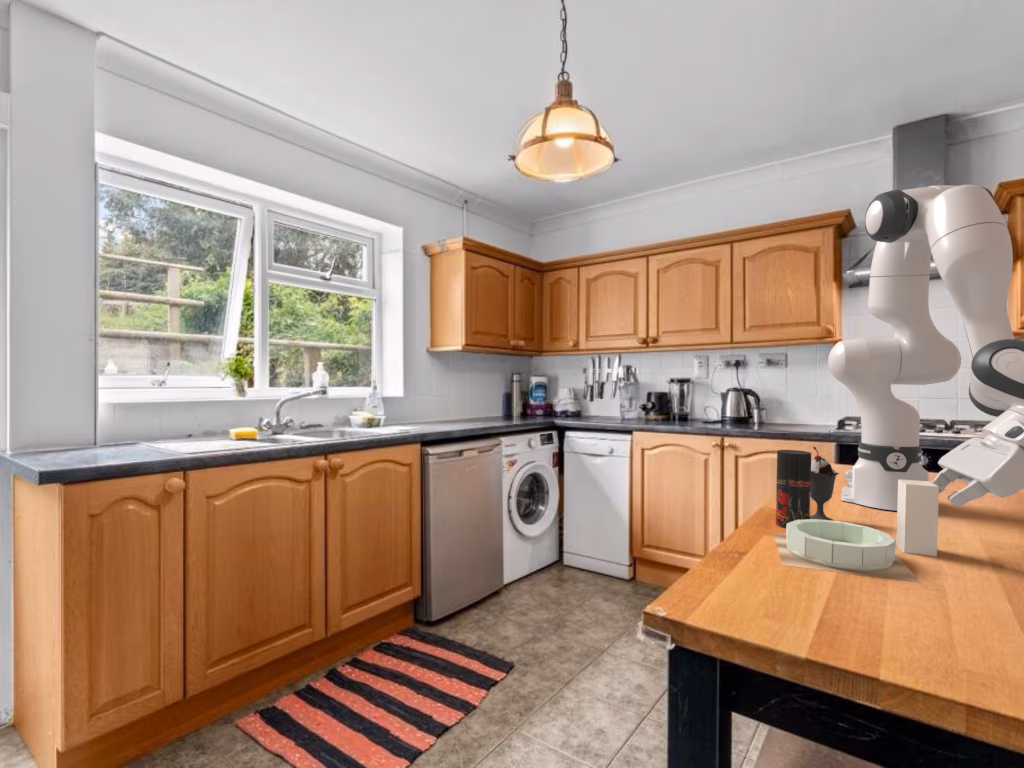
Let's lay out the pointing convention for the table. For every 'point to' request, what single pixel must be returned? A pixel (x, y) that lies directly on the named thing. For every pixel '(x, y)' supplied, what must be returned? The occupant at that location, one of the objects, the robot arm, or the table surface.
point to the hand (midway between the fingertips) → (940, 496)
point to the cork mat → (895, 572)
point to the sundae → (821, 484)
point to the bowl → (840, 545)
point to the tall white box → (917, 517)
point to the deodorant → (793, 486)
